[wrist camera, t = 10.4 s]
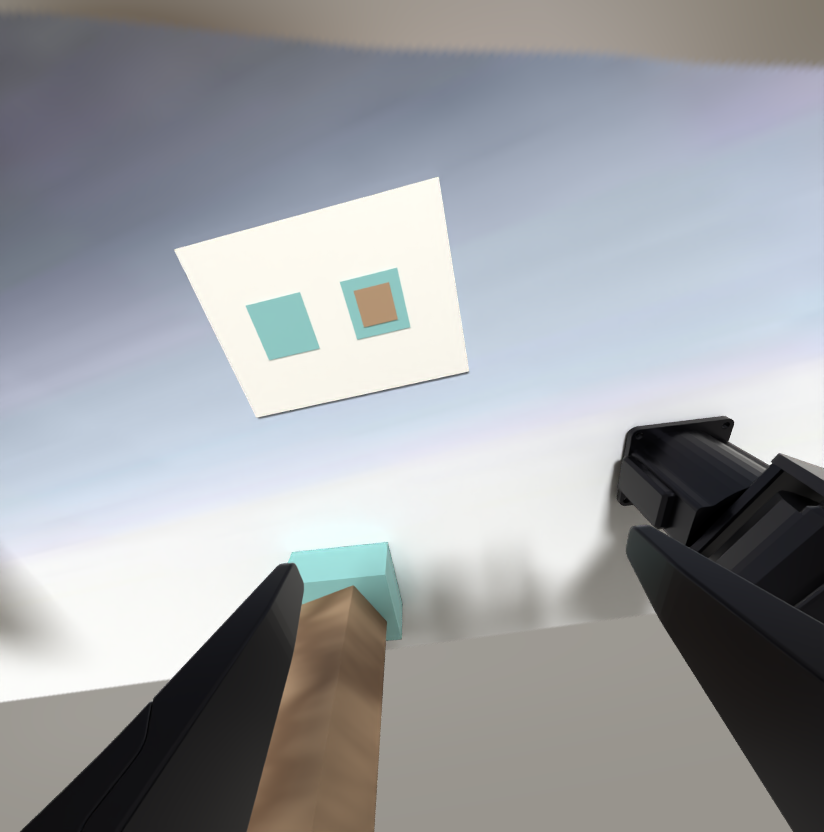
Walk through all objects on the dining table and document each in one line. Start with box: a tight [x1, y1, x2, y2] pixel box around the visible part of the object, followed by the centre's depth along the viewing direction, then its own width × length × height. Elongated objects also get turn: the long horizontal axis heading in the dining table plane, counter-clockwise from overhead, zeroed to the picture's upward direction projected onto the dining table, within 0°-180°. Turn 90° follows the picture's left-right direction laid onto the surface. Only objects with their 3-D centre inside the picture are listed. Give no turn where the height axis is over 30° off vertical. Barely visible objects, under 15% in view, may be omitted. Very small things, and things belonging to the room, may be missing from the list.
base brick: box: [288, 542, 402, 641], centre depth 27 cm, size 8×8×3 cm
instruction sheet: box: [174, 177, 469, 418], centre depth 18 cm, size 14×10×1 cm
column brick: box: [247, 585, 387, 832], centre depth 20 cm, size 5×5×12 cm
